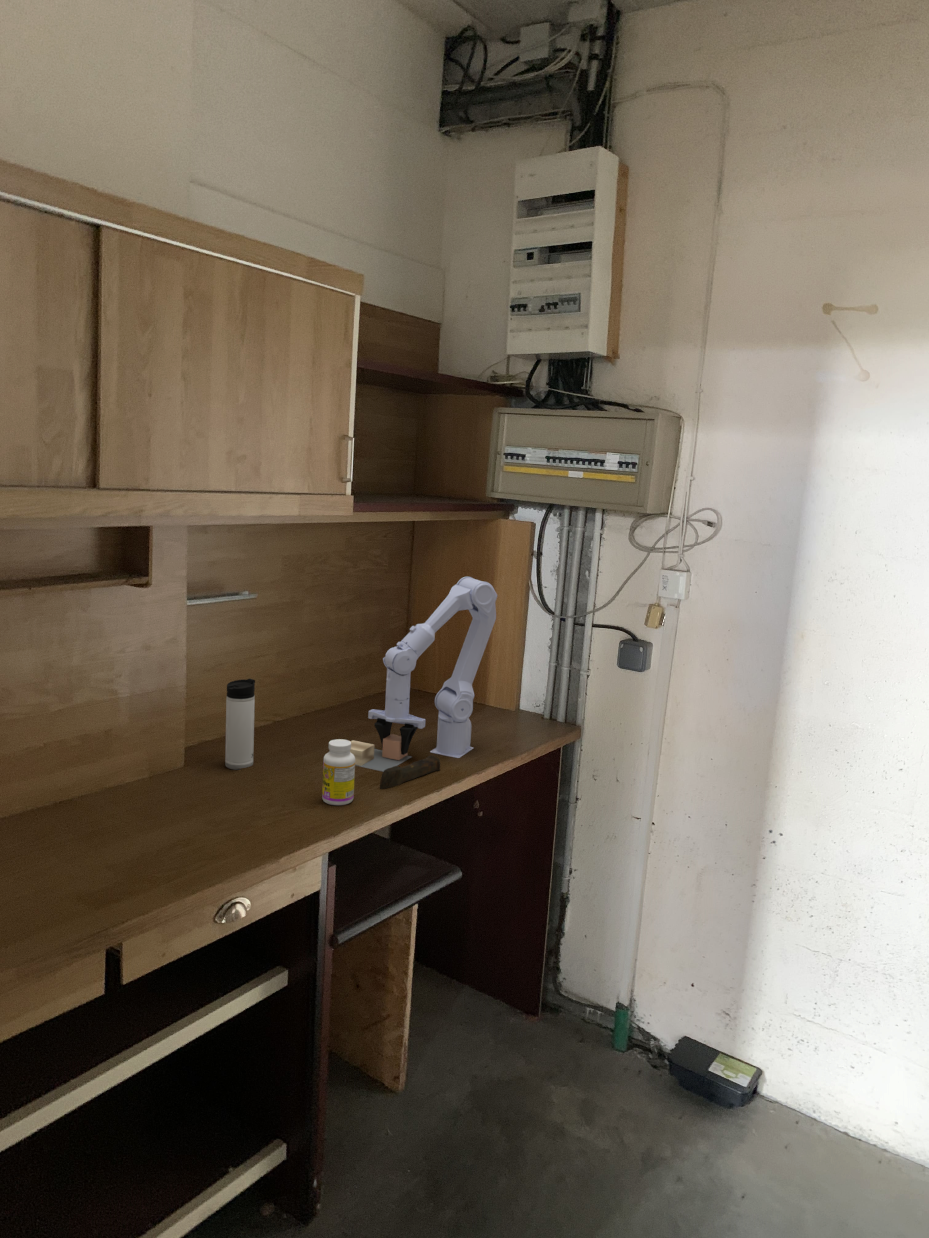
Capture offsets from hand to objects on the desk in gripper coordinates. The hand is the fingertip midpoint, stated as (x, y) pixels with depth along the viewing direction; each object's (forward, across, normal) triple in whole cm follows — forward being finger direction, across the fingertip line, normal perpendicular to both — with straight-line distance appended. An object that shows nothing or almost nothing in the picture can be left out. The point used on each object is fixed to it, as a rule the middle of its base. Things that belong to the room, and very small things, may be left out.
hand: (395, 751), depth 221 cm
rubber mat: (+2, -4, -4) cm, 6 cm away
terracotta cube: (+1, 0, 0) cm, 1 cm away
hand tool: (+2, +10, -11) cm, 15 cm away
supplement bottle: (+2, +2, -30) cm, 30 cm away
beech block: (+1, -6, -7) cm, 10 cm away
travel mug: (+2, -28, -24) cm, 37 cm away
